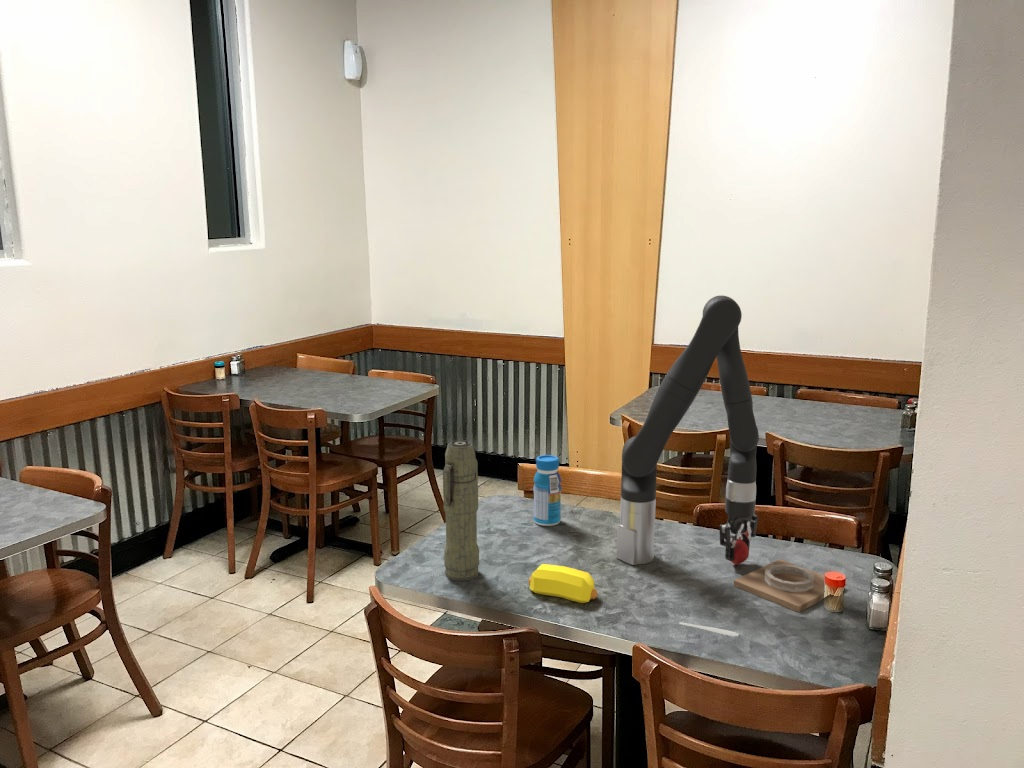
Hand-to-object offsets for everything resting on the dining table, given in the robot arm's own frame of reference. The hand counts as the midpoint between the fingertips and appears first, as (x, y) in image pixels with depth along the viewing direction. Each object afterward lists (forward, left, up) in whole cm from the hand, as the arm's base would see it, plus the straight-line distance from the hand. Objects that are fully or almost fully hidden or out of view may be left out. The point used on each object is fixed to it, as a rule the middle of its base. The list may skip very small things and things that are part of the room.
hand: (737, 556), depth 215 cm
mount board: (-1, -16, -2) cm, 16 cm away
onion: (0, 0, -3) cm, 3 cm away
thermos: (-59, +42, -3) cm, 72 cm away
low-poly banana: (-47, +17, -3) cm, 50 cm away
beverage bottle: (-18, +55, -3) cm, 58 cm away
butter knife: (-37, -10, -3) cm, 38 cm away
